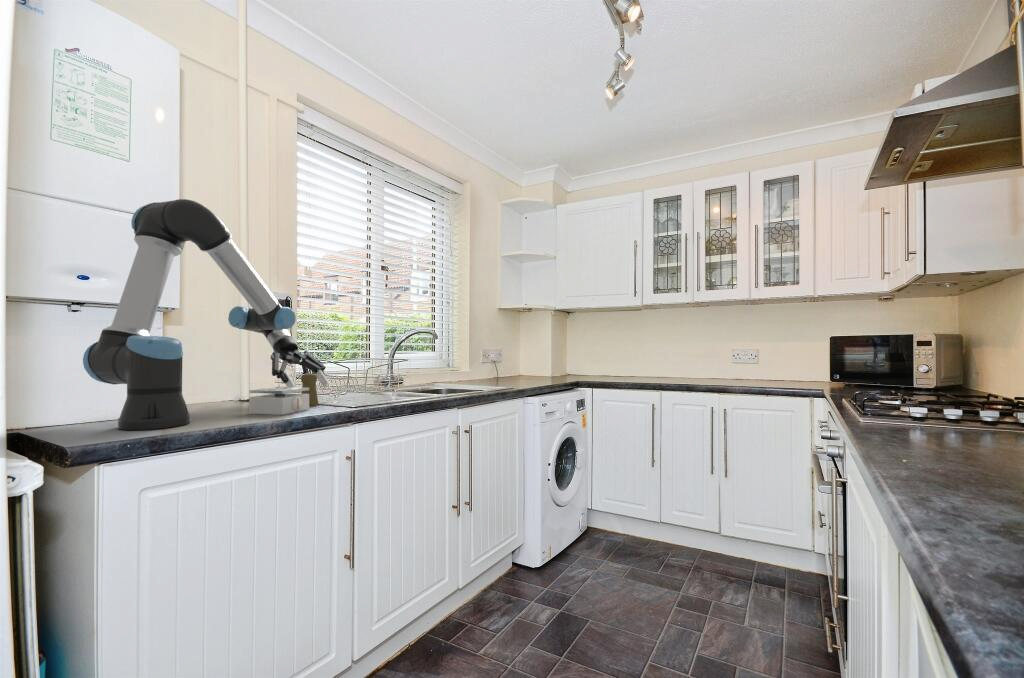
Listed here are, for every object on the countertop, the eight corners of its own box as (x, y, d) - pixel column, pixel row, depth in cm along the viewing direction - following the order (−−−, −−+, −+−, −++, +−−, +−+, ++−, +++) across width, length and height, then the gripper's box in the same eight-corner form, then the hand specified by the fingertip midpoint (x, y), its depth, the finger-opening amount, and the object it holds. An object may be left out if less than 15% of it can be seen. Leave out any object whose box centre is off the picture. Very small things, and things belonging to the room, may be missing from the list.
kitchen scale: (284, 414, 145) (284, 394, 145) (249, 413, 148) (249, 393, 148) (311, 409, 157) (311, 390, 157) (277, 408, 160) (277, 390, 160)
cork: (321, 404, 170) (321, 372, 170) (313, 406, 164) (313, 374, 164) (305, 404, 171) (305, 372, 171) (296, 406, 164) (295, 373, 165)
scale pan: (282, 393, 145) (282, 391, 145) (249, 393, 148) (249, 390, 148) (309, 390, 157) (309, 387, 157) (277, 389, 160) (277, 386, 160)
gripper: (307, 350, 188) (334, 391, 180) (244, 351, 166) (272, 398, 159) (316, 336, 185) (344, 377, 178) (254, 336, 163) (282, 382, 156)
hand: (310, 387), depth 168 cm, fingers open, 13 cm apart
